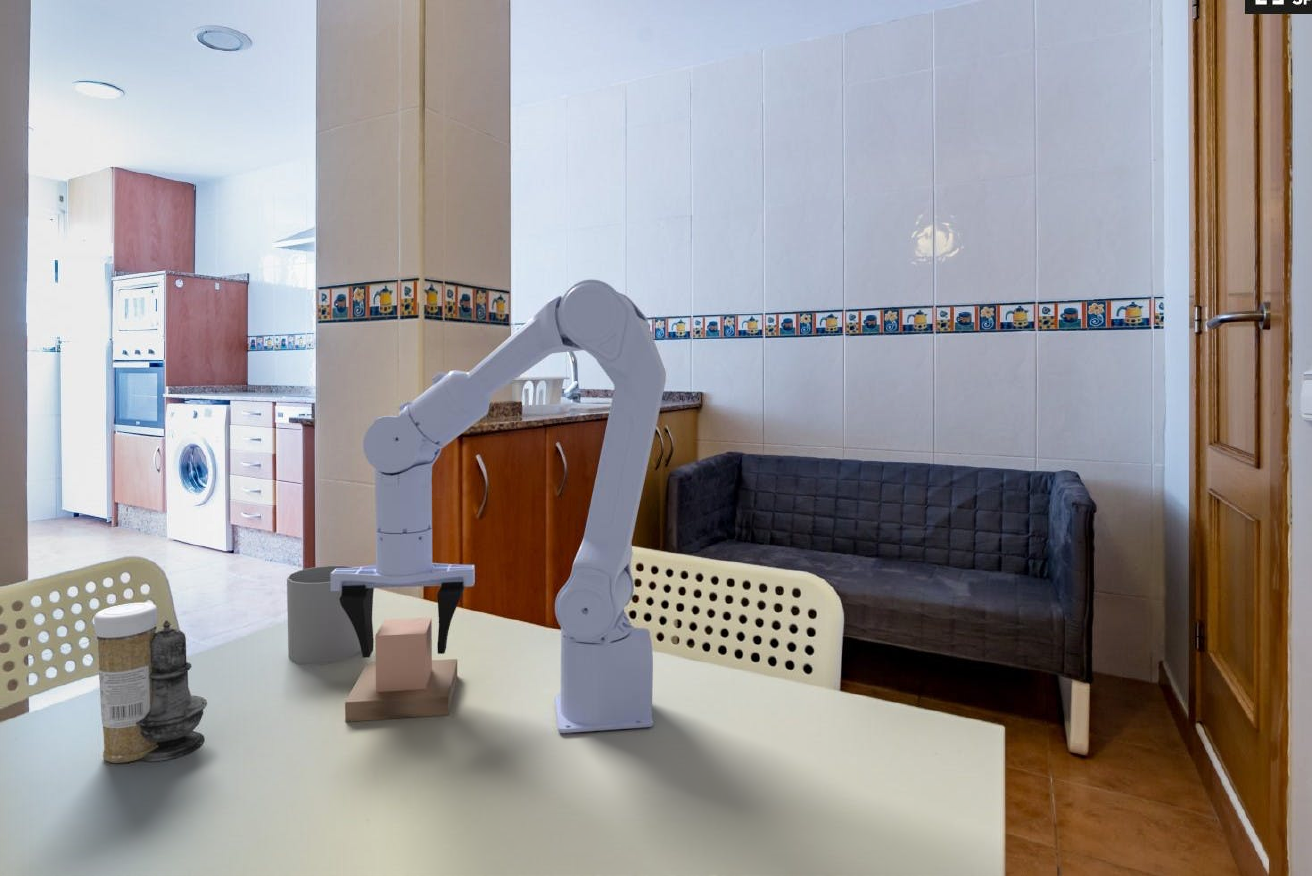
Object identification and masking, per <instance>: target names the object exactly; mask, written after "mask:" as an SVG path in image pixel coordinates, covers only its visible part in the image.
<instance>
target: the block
mask: <svg viewBox="0 0 1312 876" xmlns="http://www.w3.org/2000/svg"><path fill="white" fill-rule="evenodd" d="M432 622H433V619H432V617H426V618H425V617H422V618H401V619H400V618H399V619H397V618H396V619H384V620H383V622H382V623H381V625H380V627H379V628H378V629H377V632H376V634H375V636H374V637H375V638H374V639H375V641H374V643H375V645H374V647H375V663H376V692H385V691H401V690H418V689H426V688H427V684H428V681H429V678H430V675H431V671H432V660H433V657H432V656H433V653H432V652H433V650H432V649H433V642H432V641H433V639H432V637H433V635H432V631H433V629H432V628H433V627H432V625H433V623H432Z"/></svg>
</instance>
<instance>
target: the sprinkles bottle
mask: <svg viewBox="0 0 1312 876" xmlns="http://www.w3.org/2000/svg"><path fill="white" fill-rule="evenodd" d="M158 616H159V615H158V608H157V605H156V604H154V603H150V602H132V603H131V602H130V603H124V604H119V605H113V606H110V607H107V608H103V609H102V610H100V611H98V612H96V613H95V614H94V619H93V621H94V635H95V636H96V637H95V638H96V640H97V644H98V646H97V647H98V648H97V649H98V650H97V652H98V664H99V666H98V681H99V697H100V698H99V700H100V712H101V713H100V716H101V724H102V730H103V733H102V734H103V747H104V748H103V752H102V758H103V760H105V761H107V762H108V763H113V764H116V763H117V764H120V763H121V764H123V763H128V762H133V761H137V760H140V759H141V758H142V757H145V756H146V754H147V753H148V752H150V751H152V750H154V749H156V748H158V747H159V746H158V744H157V743H158V742H150V741H148V740H146V739H144V737H143V736H142V734H141V733H140V726H139V725H136V722H138V721H140V720H142V719H143V718H144V717H145V716H146V715H147V714H148V712H149V711H150V708H151V701H152V681H151V678H149V675H150V674H151V673H152V669H151V668H152V666H151V648H150V645H151V644H150V642H151V639H152V638H153V636H154V634H155V633H156V632H157V631H156V630H157V628H158V627H157V626H158V624H159V618H158Z"/></svg>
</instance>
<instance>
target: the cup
mask: <svg viewBox="0 0 1312 876" xmlns="http://www.w3.org/2000/svg"><path fill="white" fill-rule="evenodd" d="M354 567H355V566H348V565H323V566H316V567H310V568H305V569H301V570H296V571H295V572H293V573H290V574H288V576H287V578H286V594H287V595H286V596H287V597H286V603H287V605H286V606H287V638H288V639H287V644H288V645H287V646H288V648H287V650H288V651H287V653H288V658H289V659H290V661H291V662H292V663H296V664H301V665H306V666H307V665H308V666H309V665H311V666H312V665H326V664H331V663H332V664H333V663H337V662H341V661H343V660H347V659H349V658H353V657H354V656H355V654H356V655H357V654H359V653H360V652H362V651H361V647H360V643H359V640H358V637H357V634H356V631H355V629H354V627H353V625H352V623H351V621H350V619H349V617H348V615H347V614H346V612H345V610H344V609H343V608H342V606H341V604H340V600H339V598H340V597H341V596H342V594H341V593H342V590H341V591H331V581H330V574H331V573H332V572H333V571H334V570H335V569H340V568H354ZM358 652H359V653H358Z"/></svg>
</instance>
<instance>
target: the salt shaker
mask: <svg viewBox="0 0 1312 876" xmlns="http://www.w3.org/2000/svg"><path fill="white" fill-rule="evenodd" d="M171 625H172V623H170V621H168V620H165V621H164V622H163V624H162V627H163V628H161V629H160V630H159V631H156V633H155V634H154V636H153V638H152V639H151V642H150V644H151V645H150V648H151V666H152V668H151V669H152V673H151V674H150V675H149V678H151V681H152V701H151V708H150V711H149V712H148V714H147V715H146V716H145V717H144V718H143V719H142V720H140V721H138V722H136V725H139V726H140V733H141V734H142V736H143V737H144V739H146V740H148V741H150V742H158V743H157V744H158V746H159V747H158V748H156V749H154V750H152V751H150V752H148V753H147V754H146V756H145V757H142V758H141V759H139V760H140V761H143V762H163V761H169V760H172V759H176V758H179V757H182V756H185V755H187V754H190V753H191V752H193V751H195V750H197V749H198V748H200V747H201V746H202V745H203V744H204V742H205V735H204V734H202V733H201V732H197V731H194V730H195V729H196V728H197V727H198V726H199V724H200V723H201V720H202V717H203V716H204V710H205V709H206V707H207V705H208V701H207V699H206V698H204V697H202V696H199V695H192V694H191V691H190V688H189V670H190V669H191V668H192V663H190V662H188V661H187V643H186V642H187V636H186V634H185V633H184V632H183V631H182V630H179V629H176V628H173V627H171Z"/></svg>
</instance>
